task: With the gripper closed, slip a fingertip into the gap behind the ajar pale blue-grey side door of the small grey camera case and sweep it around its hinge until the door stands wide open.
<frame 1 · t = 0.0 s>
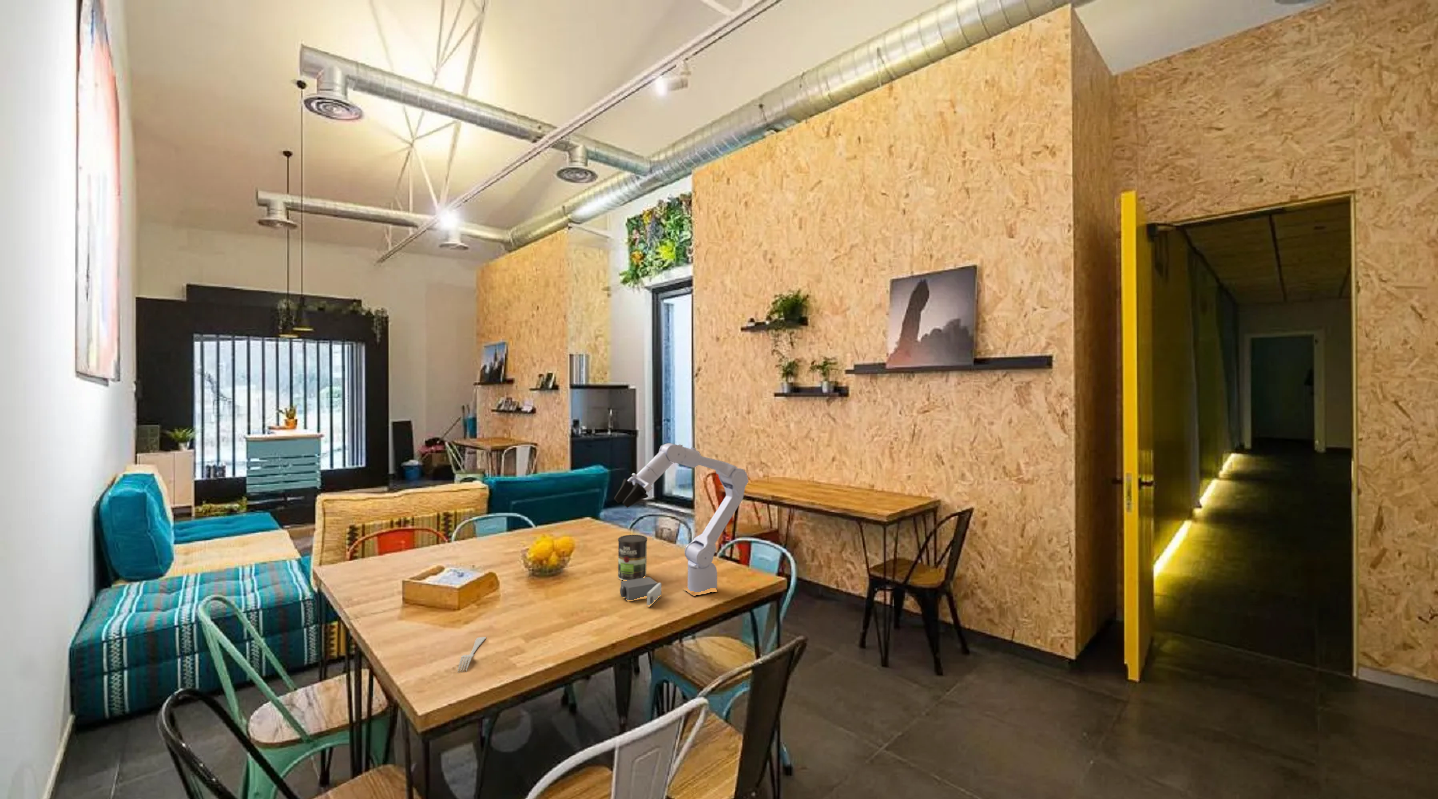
hand: (620, 503, 183), 32 cm above the table, tool tilted 50°, fingers open, 7 cm apart
coffee can: (632, 577, 212), on the table
fork: (472, 656, 151), on the table
side door: (655, 594, 188), point 2 cm above the table, hinge at 45.0°
camera case: (639, 595, 193), on the table
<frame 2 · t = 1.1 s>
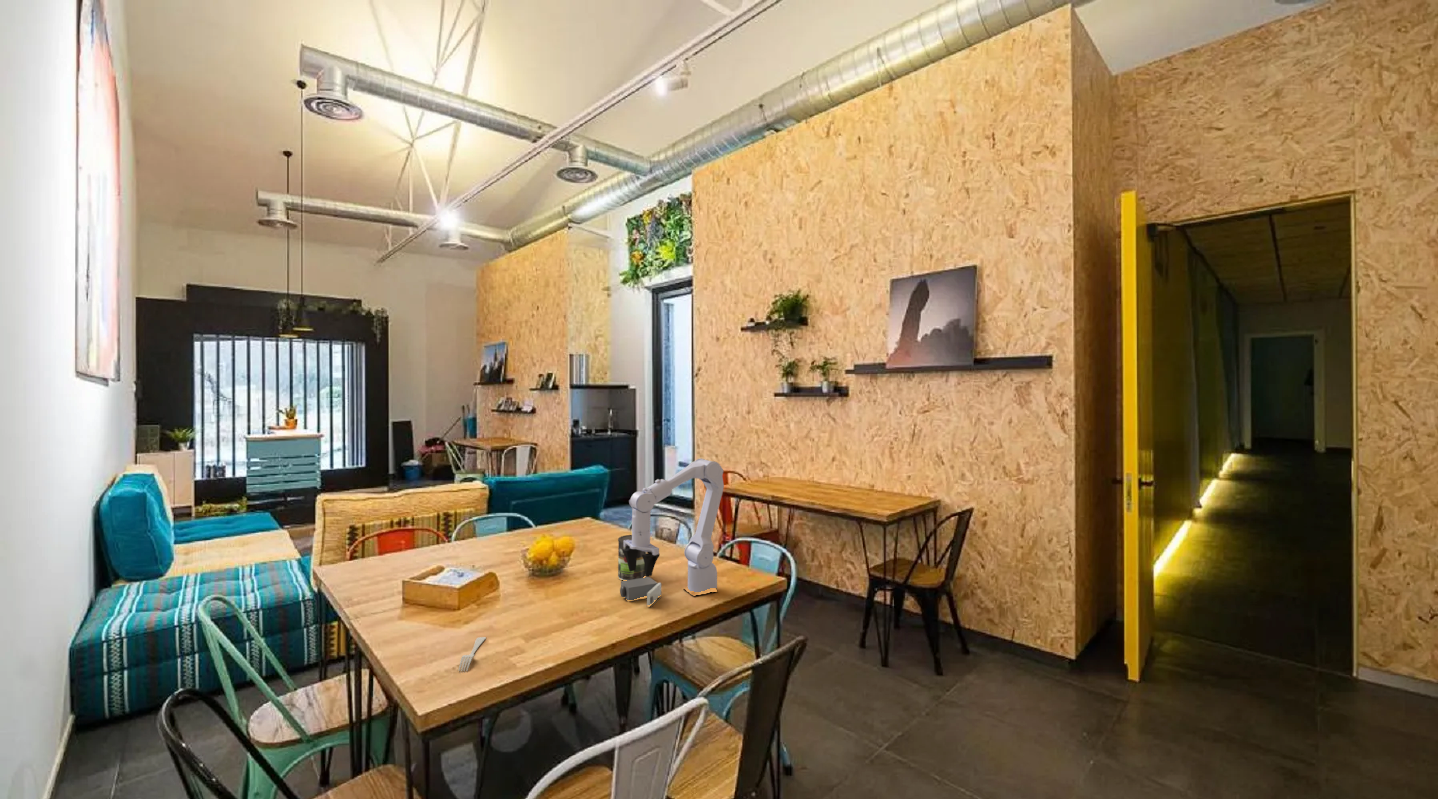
hand: (640, 573, 187), 10 cm above the table, tool pointing down, fingers open, 7 cm apart
nothing on the table moved.
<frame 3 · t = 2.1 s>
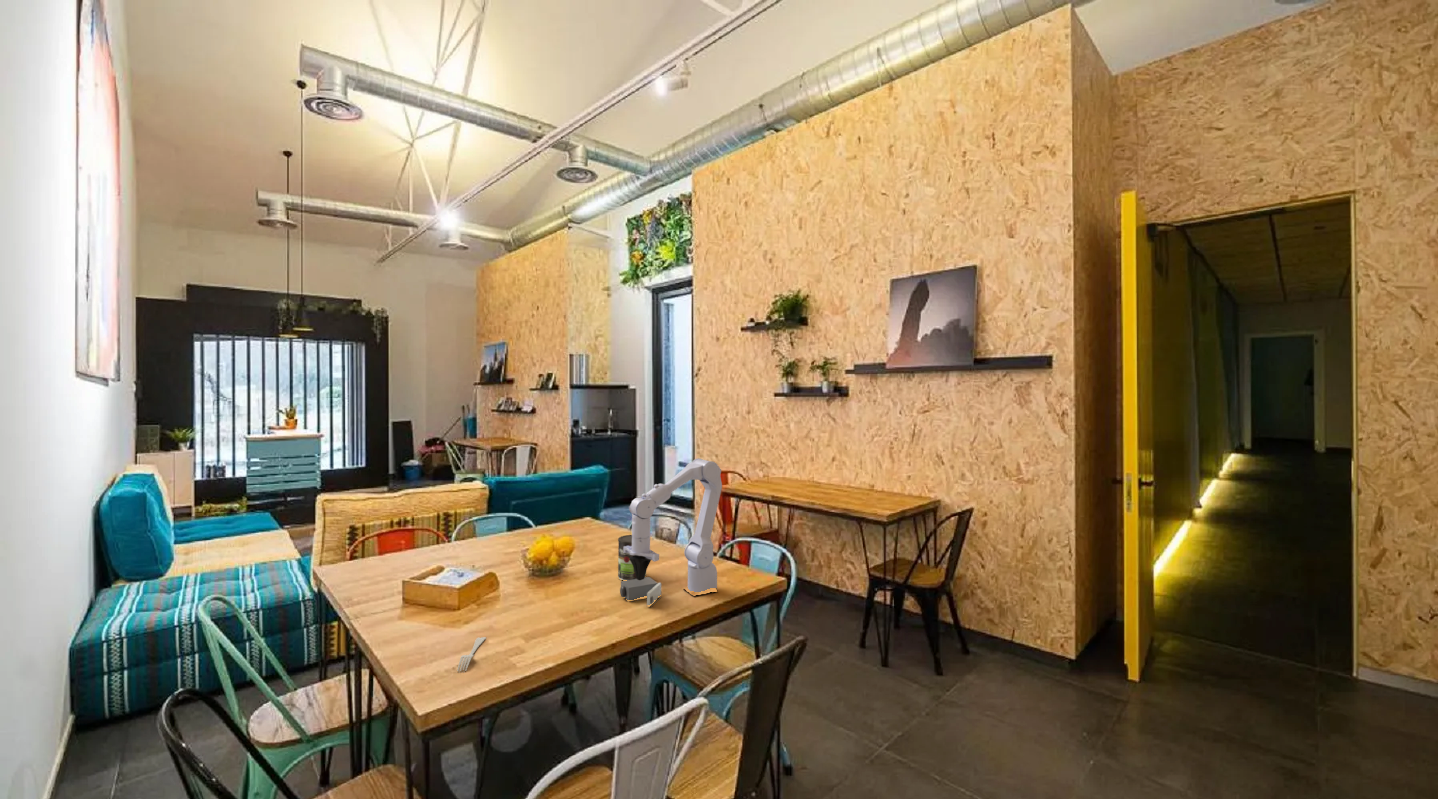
hand: (640, 579, 187), 8 cm above the table, tool pointing down, fingers closed
nothing on the table moved.
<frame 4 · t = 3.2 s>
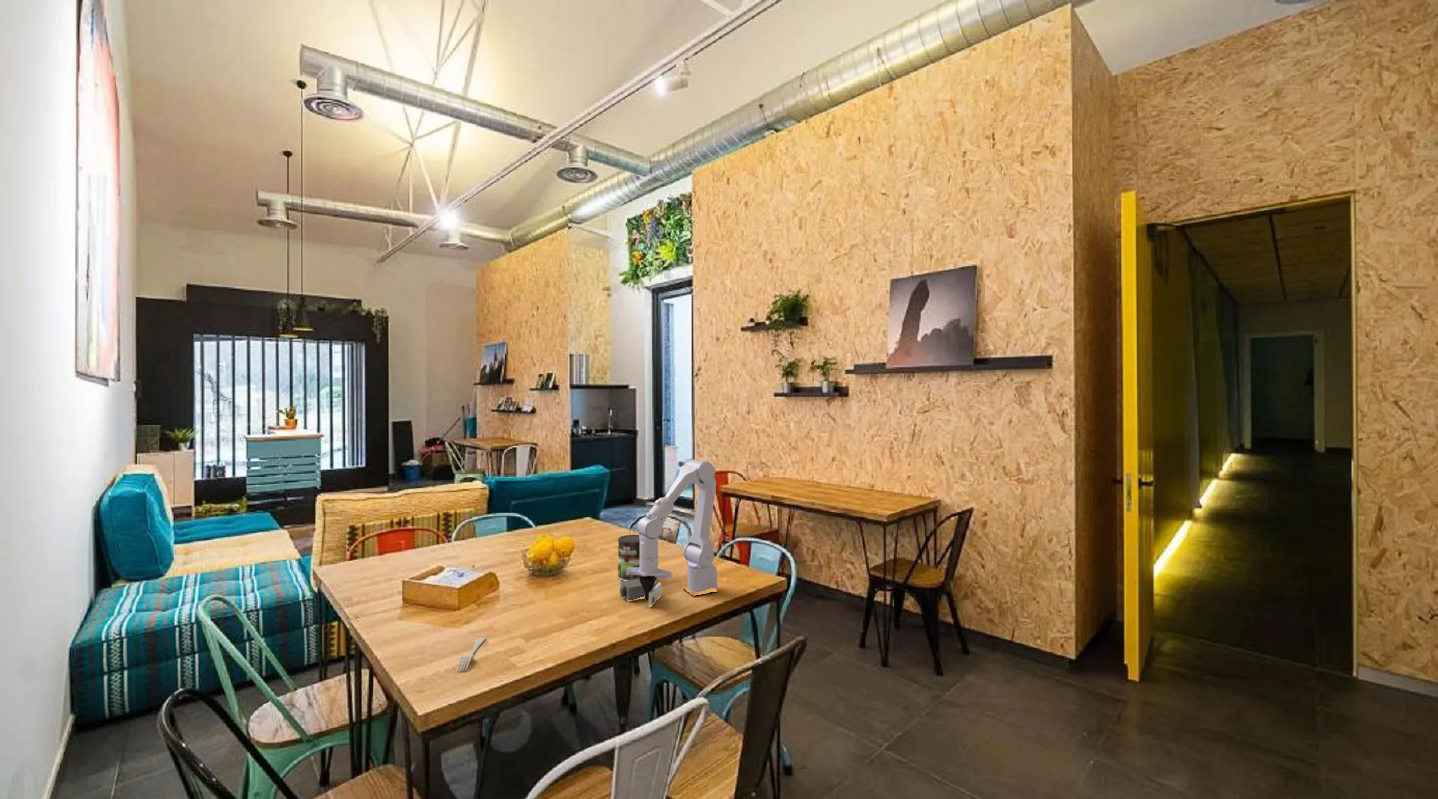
hand: (648, 599, 186), 2 cm above the table, tool pointing down, fingers closed
side door: (656, 594, 188), point 2 cm above the table, hinge at 48.4°, touching gripper
everything else where it was.
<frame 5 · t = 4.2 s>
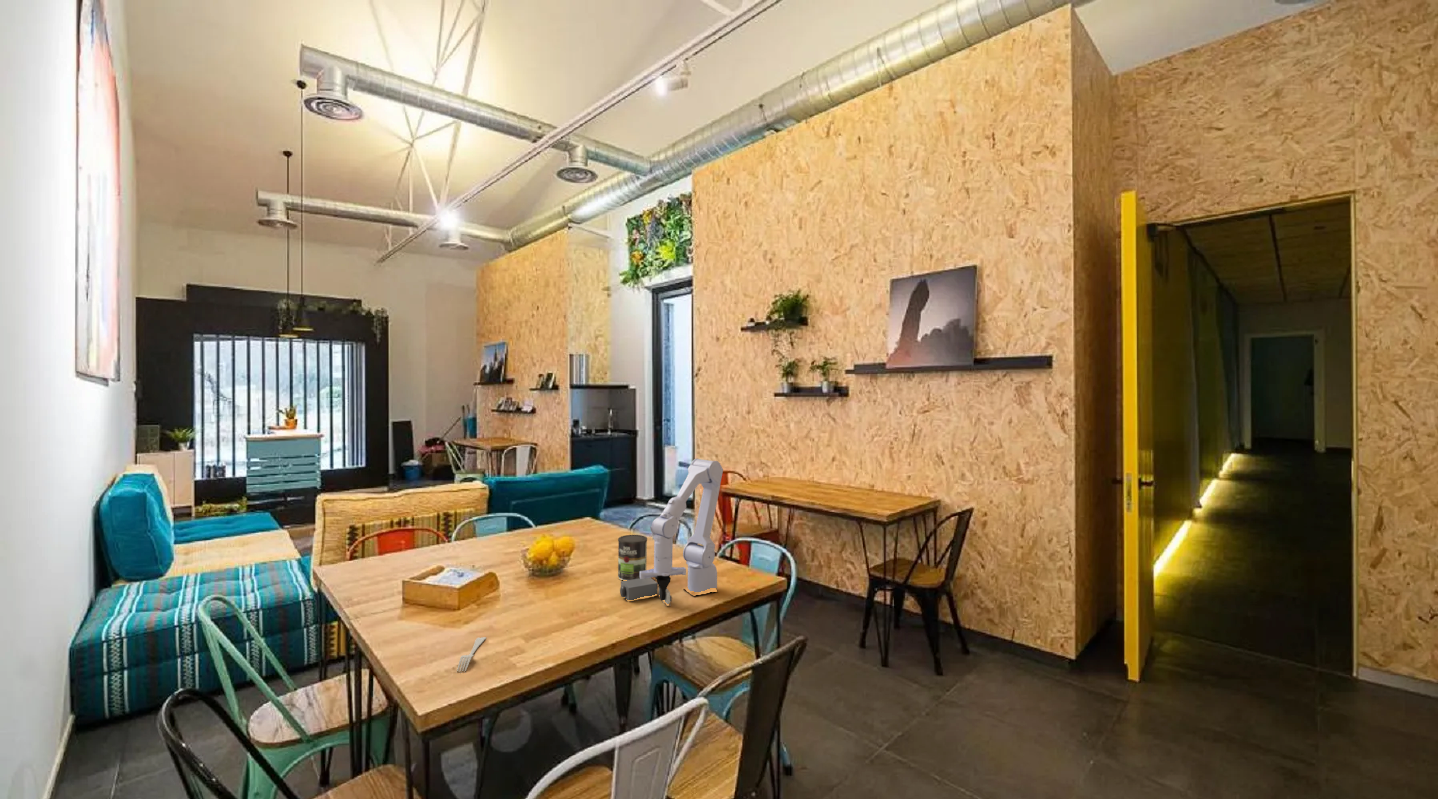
hand: (662, 599, 186), 2 cm above the table, tool pointing down, fingers closed
side door: (664, 593, 189), point 2 cm above the table, hinge at 81.4°, touching gripper
everything else where it was.
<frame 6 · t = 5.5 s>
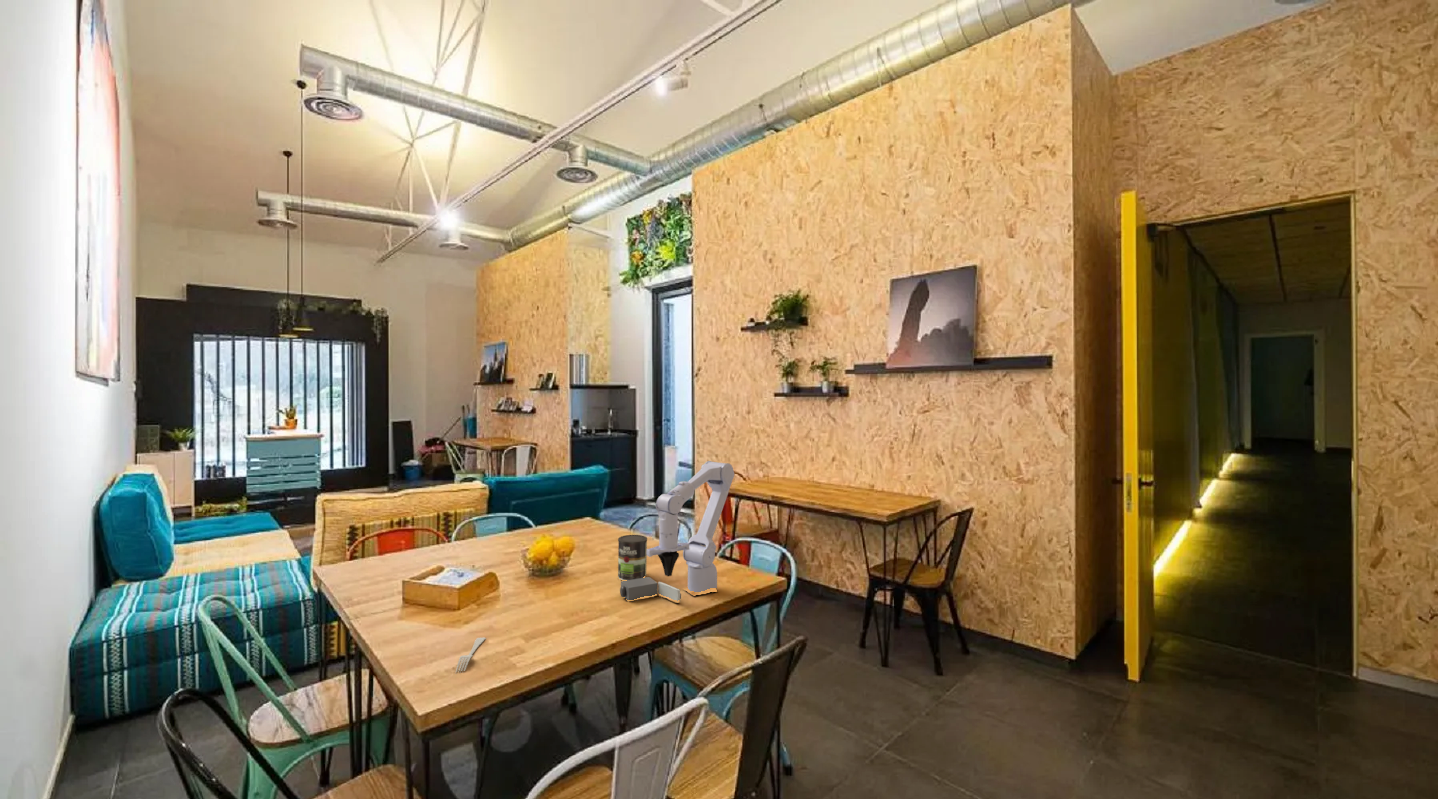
hand: (668, 575, 187), 9 cm above the table, tool pointing down, fingers closed
side door: (669, 592, 190), point 2 cm above the table, hinge at 103.5°
everything else where it was.
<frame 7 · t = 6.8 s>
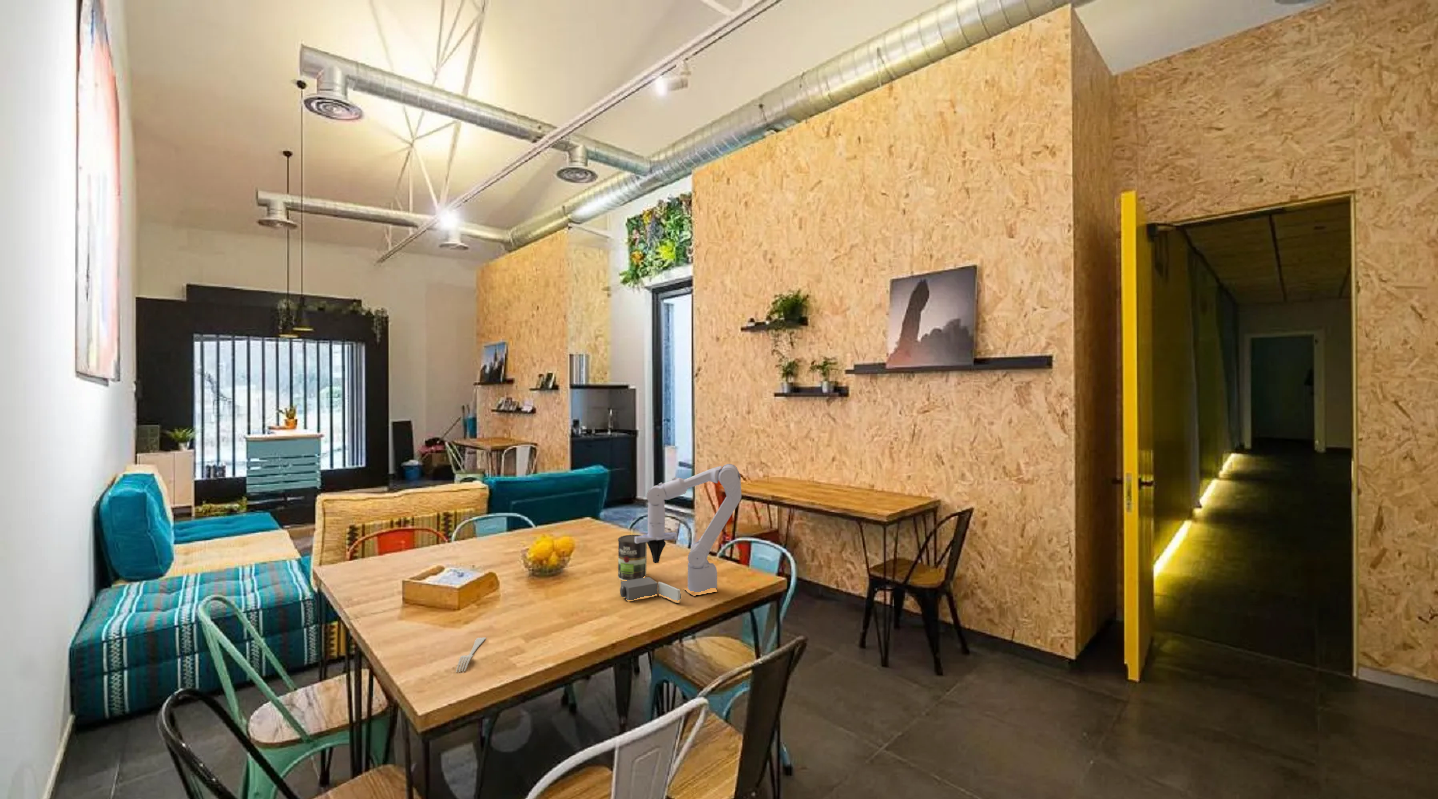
hand: (655, 562, 199), 9 cm above the table, tool pointing down, fingers closed
nothing on the table moved.
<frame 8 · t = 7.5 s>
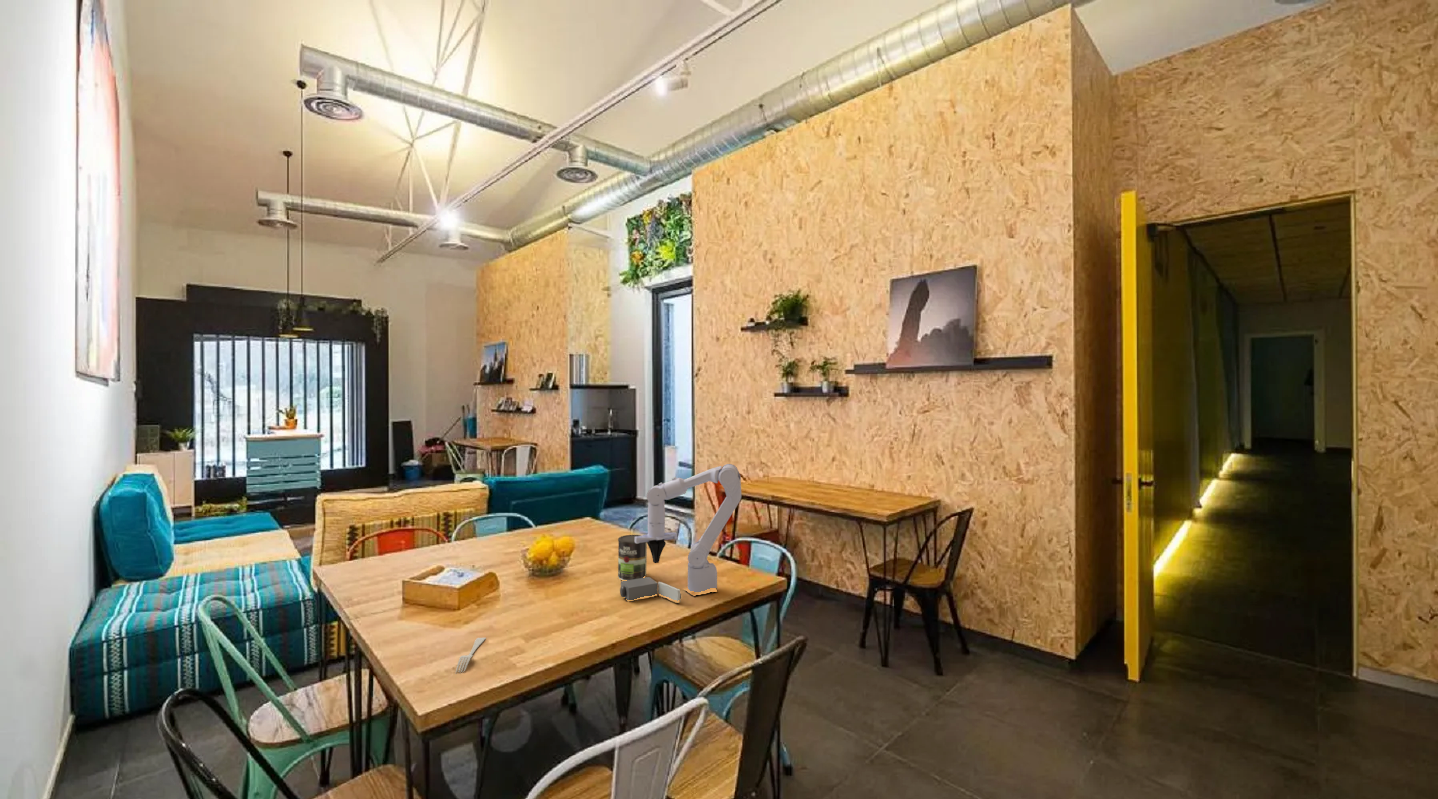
hand: (655, 562, 199), 9 cm above the table, tool pointing down, fingers closed
nothing on the table moved.
at the end: side door at +104° (first picture: +45°) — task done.
